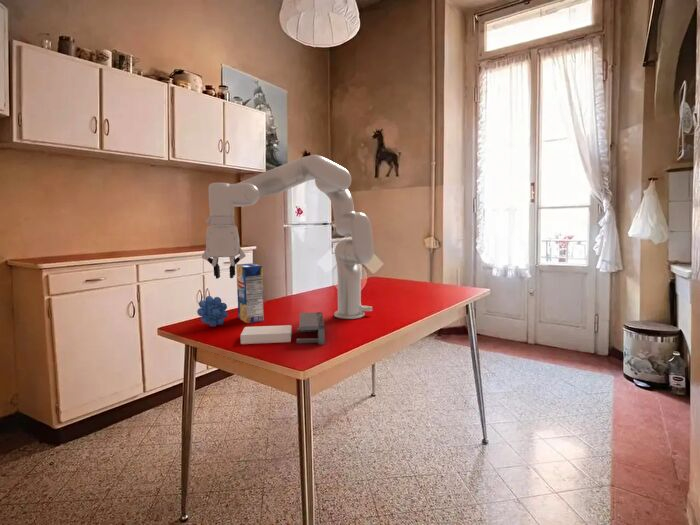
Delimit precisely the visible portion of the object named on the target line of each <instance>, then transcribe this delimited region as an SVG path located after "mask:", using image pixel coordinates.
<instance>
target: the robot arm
mask: <svg viewBox="0 0 700 525" xmlns="http://www.w3.org/2000/svg"><path fill="white" fill-rule="evenodd" d="M312 180H314V184H315V186H316V188H317V189H318V190H319V191H320V192H322V193H324V194H325V195H326V197H328V199H329V200H330V202H331V207H332V214H333V220H334V227H335V231H336V233H337V234H338V235H339V236H342V237H351V238H345V239H342V240H340V241H338V242H337V244H336V245H335V248H334V257H335V262H336V267H337V270H336V272H337V273H336V274H337V310H336V311H335V312H334V314H333V315H334V317H335V318H338V319H341V320H342V319H343V320H354V319H361V318H363V317H365V313H366V312H373V306H372V305H371V306H369V305H362V302H361V300H362V297H361V296H362V293H361V292H362V284H361V279H362V277H361V276H362V273H361V268H360V265H366V264H369V263H370V262H371V261H372V260H373V257H374V254H375V250H374V249H375V247H374V246H375V245H374V238H373V228H372V223H371V221H370V218H369V217H368V215H367V214H365V213H364V212H361V211H360V212H358V211H355V207H354V204H355V203H354V200H353V197H352V193H351V192H350V190H349V188H350V187H351V185H352V175H351V173H350V172H349V170H347V169H346V168H345V167H343V166H342V165H339V164H338V163H336V162H334V161H332V160H330V159H328V158H326V157H324V156H322V155H319V154H310V155H307V156H303V157H299V158H297V159H294V160H291V161H289V162H287V163H284V164H281V165H279V166H277V167H275V168H272V169H269V170H266V171H263V172H262V173H260V174H257V175H255V176H253V177H252V176H251V177H250V178H247V179H245V180H242V181H241V182H240V181H239V182H237V183H228V182H211V183H210V184H208V203H209V204H208V205H209V206H208V207H209V216H208V218H206V217H205V224H206V223H208V224H209V225H207V227H206V228H207V229H206V237H205V238H206V239H205V242H206V243H205V250H204V252H203V253H202V256H201V258H202V259H204V260H205V261H207V262H208V263H209V264H211V266H212V267H213V276H214V277H215V279H219V278H221V267H220V265H219V260H220V258H229V262H230V266H229V268H228V269H229V278H230V279H233V278H234V277H235V276H236V265H237V264H239V262H240V261H241V260H243V259H244V258H246V256H247V255H246V253H245V252H244V250H243V249H242V247H241V244H240V236H239V231H238V226H237V225H235V207H236V208H238V207H239V208H240V207H249V206H253V205H255V204H256V203H257V202H258V201H259V199H260V198H262V197H267V196H269V195H270V196H271V195H276V194H280V193H283V192H285V191H288V190H290V189H292V188H294V187H297V186H299V185H302V184H303V183H306V182H309V181H312ZM236 256H237V257H236Z"/></svg>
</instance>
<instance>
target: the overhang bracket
mask: <svg viewBox="0 0 700 525" xmlns="http://www.w3.org/2000/svg"><path fill="white" fill-rule="evenodd" d="M296 331H297V332H296V333H315V332H316V334H317V337H314V338H312V337H311V338H307V337H306V338H296V344H313V343H315V344H316V343H317V344H318V346H319V345H320V346H321V345H325V344H326V343H325V342H326V341H325V340H326V338H325V336H326V334H325V332H326V331H325V321H324V315H323V312H322V311H321V312H300V313H299V327H298V328H297V330H296Z"/></svg>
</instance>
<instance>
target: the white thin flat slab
mask: <svg viewBox="0 0 700 525" xmlns="http://www.w3.org/2000/svg"><path fill="white" fill-rule="evenodd" d="M292 333H293V331H292V324H287V325H285V324H284V325H262V326H260V325H259V326H245V327H244V328H243V330H242V332H241V333H240V335H239V336H240V345H249V344H250V345H251V344H253V345H255V344H272V343H273V344H275V343H291V340H292V335H293V334H292Z"/></svg>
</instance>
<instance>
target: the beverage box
mask: <svg viewBox="0 0 700 525" xmlns="http://www.w3.org/2000/svg"><path fill="white" fill-rule="evenodd" d="M235 272H236V289H237V290H236V292H237V312H238V314H237V315H238V316H237V318H238V319H240V320H241V321H243V322H244V323H246V324H253V323H258V322H259V323H260V322H264V321H265V317H264V314H265V313H264V312H265V311H264V285H263V266H262V265H260V264H256V263H251V262H250V263H237V264H236V265H235Z"/></svg>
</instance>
